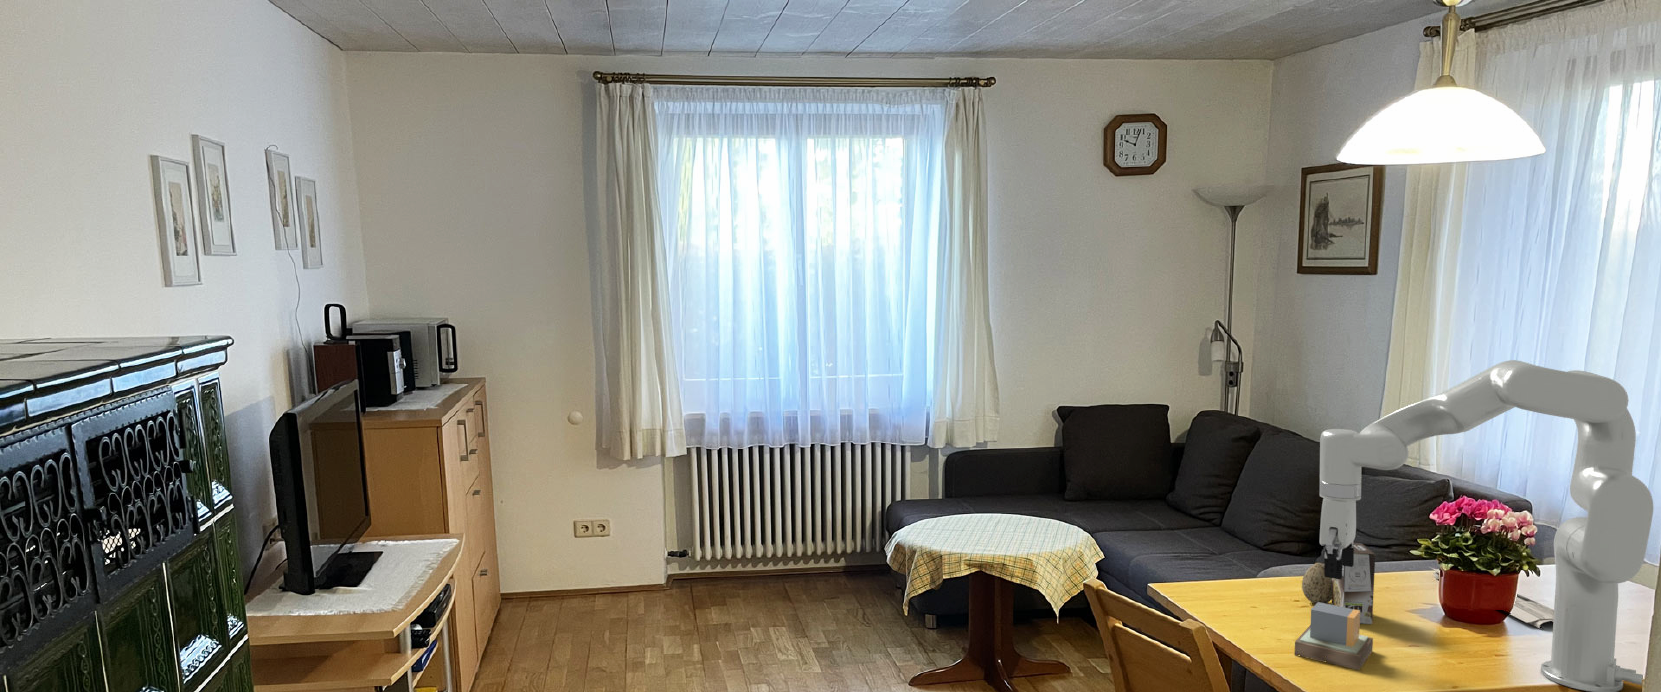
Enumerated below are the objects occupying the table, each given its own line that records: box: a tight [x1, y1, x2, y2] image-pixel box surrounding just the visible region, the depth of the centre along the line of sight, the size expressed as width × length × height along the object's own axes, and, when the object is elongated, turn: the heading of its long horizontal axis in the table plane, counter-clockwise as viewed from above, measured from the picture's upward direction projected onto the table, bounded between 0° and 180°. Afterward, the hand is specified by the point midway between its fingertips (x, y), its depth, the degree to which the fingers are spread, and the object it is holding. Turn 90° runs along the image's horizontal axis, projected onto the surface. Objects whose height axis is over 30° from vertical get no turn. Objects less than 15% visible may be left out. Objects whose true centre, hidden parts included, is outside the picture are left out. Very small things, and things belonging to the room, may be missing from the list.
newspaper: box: [1429, 566, 1554, 629], centre depth 230 cm, size 35×12×4 cm, turn 4°
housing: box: [1309, 602, 1361, 647], centre depth 201 cm, size 6×8×6 cm
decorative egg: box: [1301, 562, 1332, 605], centre depth 229 cm, size 7×7×10 cm
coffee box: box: [1331, 542, 1376, 625], centre depth 221 cm, size 9×6×16 cm
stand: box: [1294, 624, 1374, 671], centre depth 201 cm, size 12×12×3 cm
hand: (1339, 571), depth 200 cm, fingers open, 9 cm apart
